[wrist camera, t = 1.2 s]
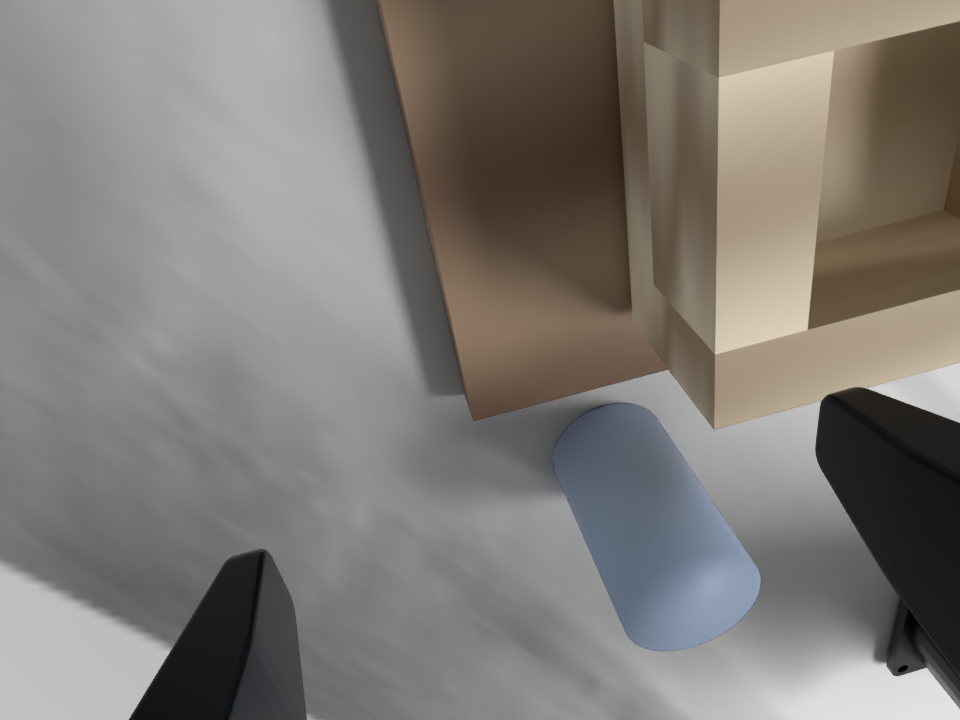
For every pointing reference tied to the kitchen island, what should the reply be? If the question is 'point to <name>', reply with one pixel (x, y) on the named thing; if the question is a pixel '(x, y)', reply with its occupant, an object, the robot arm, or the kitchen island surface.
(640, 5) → the open box
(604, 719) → the kitchen island surface
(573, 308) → the board
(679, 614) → the light blue cylinder
